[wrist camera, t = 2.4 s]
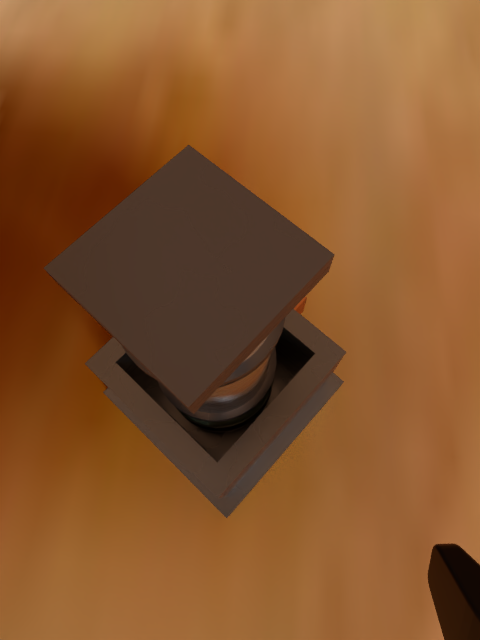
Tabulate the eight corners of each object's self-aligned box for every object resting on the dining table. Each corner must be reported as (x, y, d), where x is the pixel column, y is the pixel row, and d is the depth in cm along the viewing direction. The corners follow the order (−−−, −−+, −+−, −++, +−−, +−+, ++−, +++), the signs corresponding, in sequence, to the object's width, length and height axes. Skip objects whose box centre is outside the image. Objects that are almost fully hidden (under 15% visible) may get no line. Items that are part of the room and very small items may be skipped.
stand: (345, 380, 22) (376, 343, 17) (227, 516, 20) (218, 526, 15) (226, 281, 24) (219, 219, 19) (109, 396, 22) (61, 364, 17)
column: (291, 383, 21) (337, 254, 10) (225, 457, 20) (188, 411, 9) (221, 322, 22) (188, 142, 11) (155, 389, 21) (40, 268, 10)
